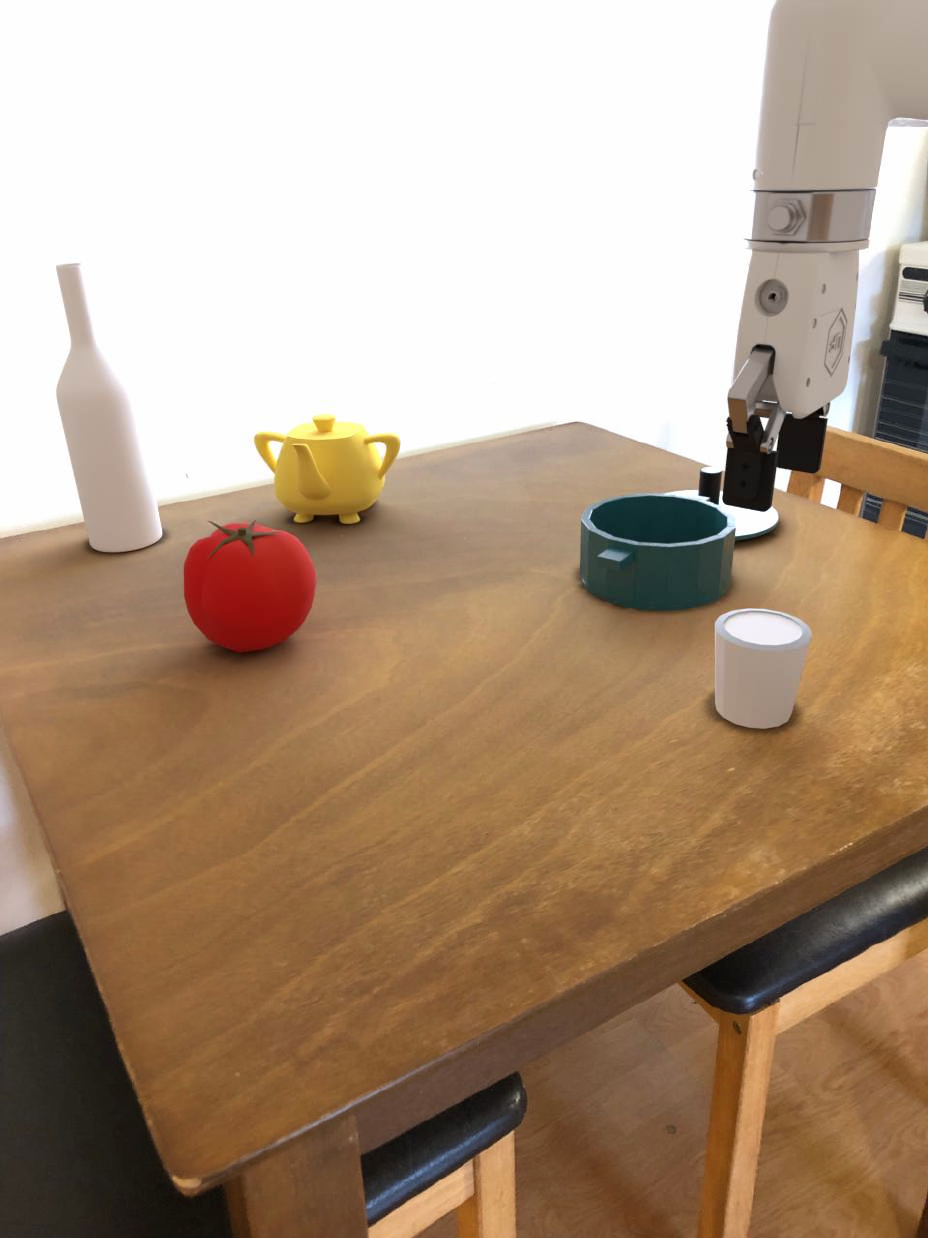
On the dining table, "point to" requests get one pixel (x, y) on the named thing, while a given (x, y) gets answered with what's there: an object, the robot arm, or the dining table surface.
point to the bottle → (103, 432)
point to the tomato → (248, 586)
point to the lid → (746, 520)
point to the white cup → (758, 666)
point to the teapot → (328, 467)
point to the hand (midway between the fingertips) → (772, 487)
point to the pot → (657, 551)
